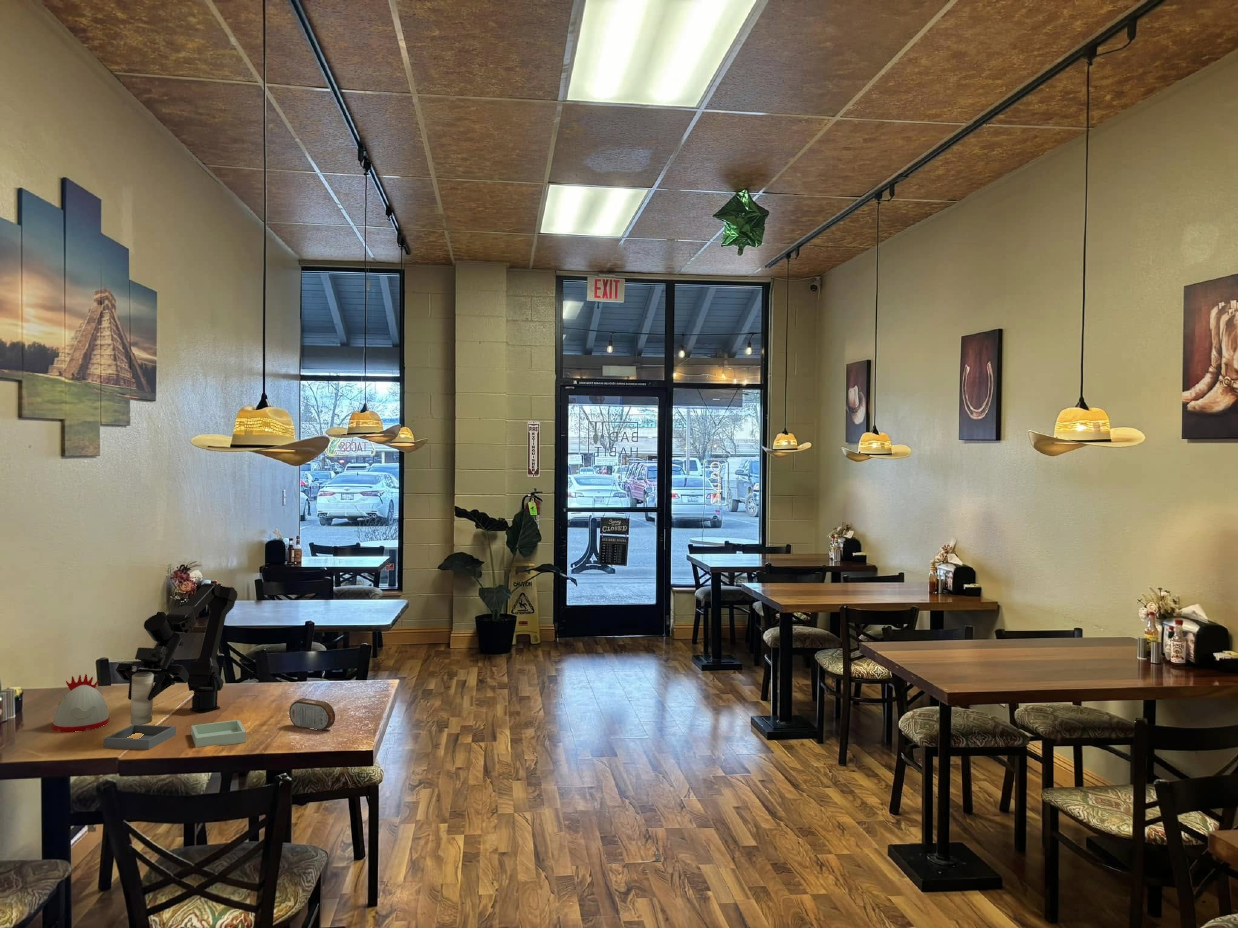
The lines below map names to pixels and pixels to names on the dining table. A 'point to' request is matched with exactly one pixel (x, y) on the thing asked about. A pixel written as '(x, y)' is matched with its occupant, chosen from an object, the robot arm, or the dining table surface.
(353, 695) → the dining table surface
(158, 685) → the robot arm
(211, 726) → the sage bin
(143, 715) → the beige cylinder
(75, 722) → the grey and red dome
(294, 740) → the dining table surface
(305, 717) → the tin
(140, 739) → the charcoal bin
